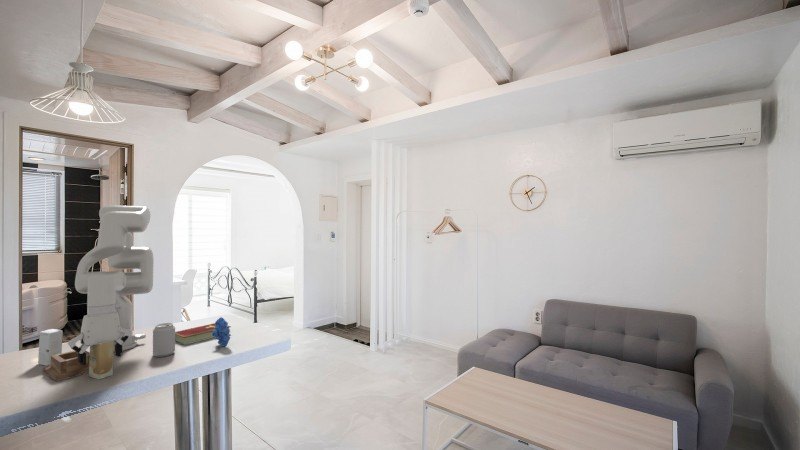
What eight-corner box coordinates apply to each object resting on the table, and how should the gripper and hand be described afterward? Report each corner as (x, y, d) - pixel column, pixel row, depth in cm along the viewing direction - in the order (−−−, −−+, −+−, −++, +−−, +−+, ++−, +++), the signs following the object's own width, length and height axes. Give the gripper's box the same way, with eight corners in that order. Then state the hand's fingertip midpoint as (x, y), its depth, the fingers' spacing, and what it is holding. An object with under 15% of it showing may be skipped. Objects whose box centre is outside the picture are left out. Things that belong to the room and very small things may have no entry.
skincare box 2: (88, 376, 124) (88, 340, 124) (102, 372, 128) (103, 337, 128) (99, 379, 121) (99, 343, 121) (113, 375, 125) (114, 339, 125)
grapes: (206, 345, 157) (206, 317, 157) (222, 341, 162) (222, 314, 162) (217, 351, 149) (217, 322, 150) (233, 347, 155) (233, 319, 155)
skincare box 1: (37, 364, 135) (37, 331, 135) (52, 360, 139) (52, 328, 139) (48, 366, 133) (48, 333, 133) (62, 361, 137) (63, 329, 137)
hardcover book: (171, 341, 164) (171, 331, 164) (217, 330, 181) (217, 321, 181) (184, 346, 157) (184, 336, 157) (230, 334, 174) (230, 325, 174)
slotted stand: (86, 361, 138) (86, 346, 138) (100, 369, 130) (100, 354, 130) (42, 371, 128) (43, 356, 128) (55, 381, 120) (55, 364, 120)
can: (179, 352, 148) (179, 323, 148) (160, 358, 141) (160, 327, 141) (167, 350, 151) (167, 321, 151) (148, 355, 144) (148, 325, 144)
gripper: (126, 304, 134) (126, 351, 133) (64, 313, 119) (63, 365, 119) (135, 306, 130) (135, 355, 129) (72, 316, 115) (71, 370, 115)
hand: (100, 360), depth 124 cm, fingers open, 9 cm apart
